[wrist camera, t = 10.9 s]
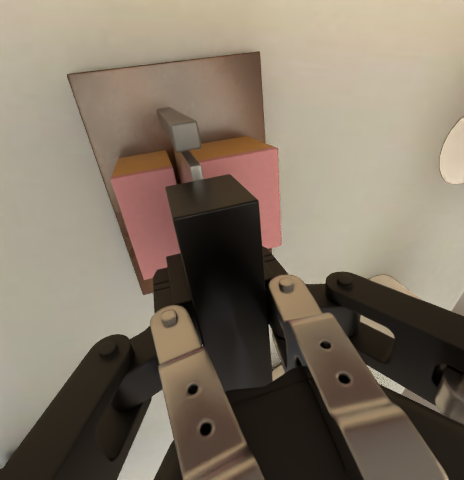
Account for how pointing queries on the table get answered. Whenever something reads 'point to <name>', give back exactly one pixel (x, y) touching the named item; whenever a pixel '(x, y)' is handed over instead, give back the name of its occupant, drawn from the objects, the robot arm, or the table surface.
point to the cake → (162, 174)
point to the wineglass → (453, 155)
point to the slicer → (167, 113)
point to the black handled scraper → (223, 271)
